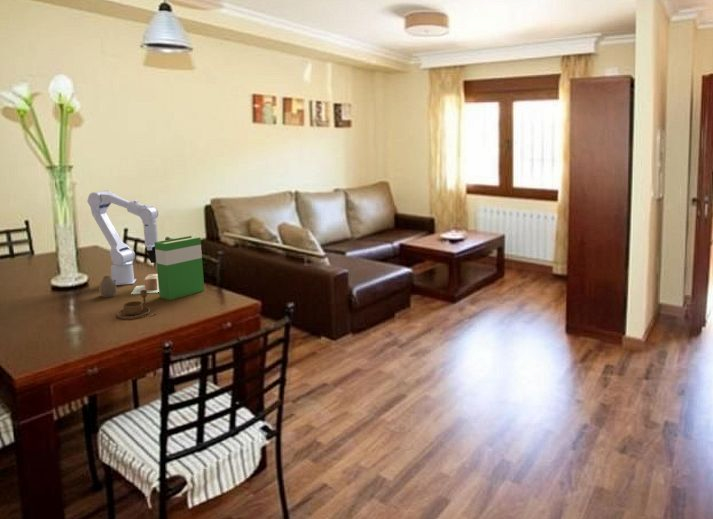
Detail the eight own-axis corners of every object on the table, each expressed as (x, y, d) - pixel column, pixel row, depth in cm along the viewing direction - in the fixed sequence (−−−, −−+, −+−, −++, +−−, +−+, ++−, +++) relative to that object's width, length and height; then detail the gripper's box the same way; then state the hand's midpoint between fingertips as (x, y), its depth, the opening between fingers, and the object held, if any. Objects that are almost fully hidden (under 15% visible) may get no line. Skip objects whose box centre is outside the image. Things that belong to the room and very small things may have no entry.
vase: (121, 294, 239) (118, 275, 237) (109, 299, 232) (106, 279, 230) (108, 293, 241) (106, 274, 239) (96, 297, 235) (94, 277, 233)
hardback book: (194, 288, 248) (190, 235, 243) (204, 290, 244) (200, 237, 238) (159, 297, 234) (154, 242, 229) (169, 300, 230) (164, 244, 225)
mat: (130, 294, 238) (130, 293, 238) (136, 286, 251) (136, 285, 251) (169, 292, 242) (169, 291, 242) (172, 284, 254) (172, 283, 254)
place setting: (104, 317, 210) (102, 302, 209) (143, 303, 228) (142, 289, 227) (138, 323, 203) (137, 308, 202) (176, 307, 221) (175, 293, 220)
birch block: (149, 284, 253) (145, 290, 243) (147, 274, 252) (144, 279, 242) (160, 284, 254) (157, 289, 244) (159, 273, 253) (156, 278, 243)
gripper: (157, 236, 243) (160, 265, 246) (162, 230, 257) (164, 258, 260) (140, 236, 242) (143, 266, 245) (146, 231, 256) (149, 259, 259)
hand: (153, 262), depth 252 cm, fingers closed
